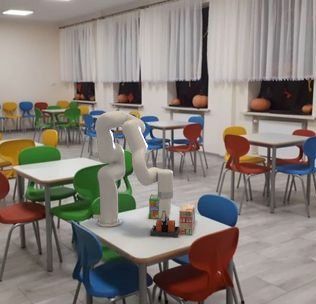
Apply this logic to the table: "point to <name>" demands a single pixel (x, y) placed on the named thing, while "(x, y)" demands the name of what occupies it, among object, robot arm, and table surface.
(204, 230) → the table surface
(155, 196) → the chalk box
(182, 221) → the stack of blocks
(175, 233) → the frame
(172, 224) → the orange rectangular block
